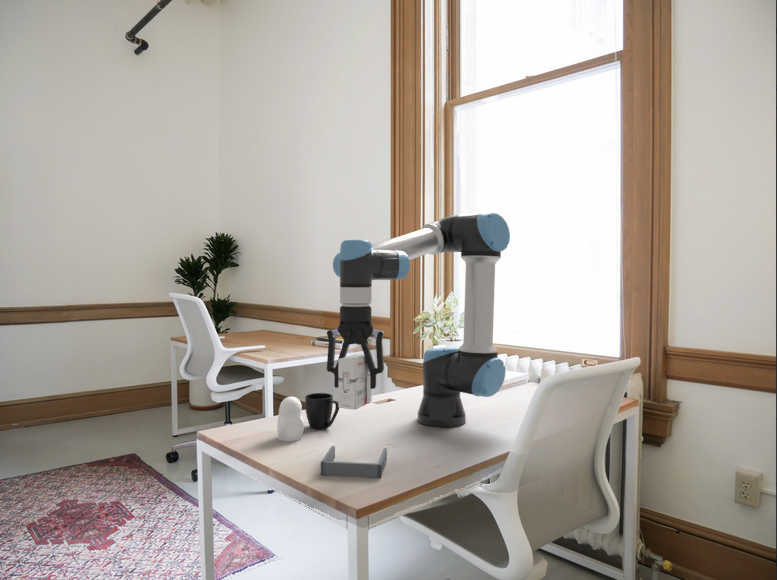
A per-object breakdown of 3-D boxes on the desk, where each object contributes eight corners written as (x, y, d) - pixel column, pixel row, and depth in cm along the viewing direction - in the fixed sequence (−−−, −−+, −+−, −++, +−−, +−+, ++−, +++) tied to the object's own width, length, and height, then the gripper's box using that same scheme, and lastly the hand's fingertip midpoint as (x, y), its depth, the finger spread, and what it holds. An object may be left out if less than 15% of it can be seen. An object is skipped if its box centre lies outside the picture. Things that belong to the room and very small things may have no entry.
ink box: (354, 400, 136) (355, 352, 136) (372, 402, 134) (372, 354, 134) (337, 408, 129) (337, 357, 128) (355, 410, 126) (355, 359, 126)
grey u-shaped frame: (386, 459, 137) (386, 448, 137) (380, 477, 125) (380, 464, 125) (331, 457, 139) (331, 445, 139) (320, 475, 127) (320, 462, 127)
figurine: (281, 444, 149) (281, 400, 149) (273, 436, 156) (273, 394, 156) (306, 440, 153) (306, 397, 152) (297, 433, 159) (297, 392, 159)
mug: (327, 435, 157) (327, 402, 157) (299, 427, 165) (299, 396, 165) (347, 429, 164) (347, 397, 163) (319, 422, 171) (319, 391, 171)
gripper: (397, 304, 133) (396, 399, 134) (320, 303, 135) (319, 396, 136) (393, 306, 126) (393, 406, 127) (312, 305, 128) (312, 404, 129)
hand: (355, 401), depth 131 cm, fingers closed on ink box, 6 cm apart
